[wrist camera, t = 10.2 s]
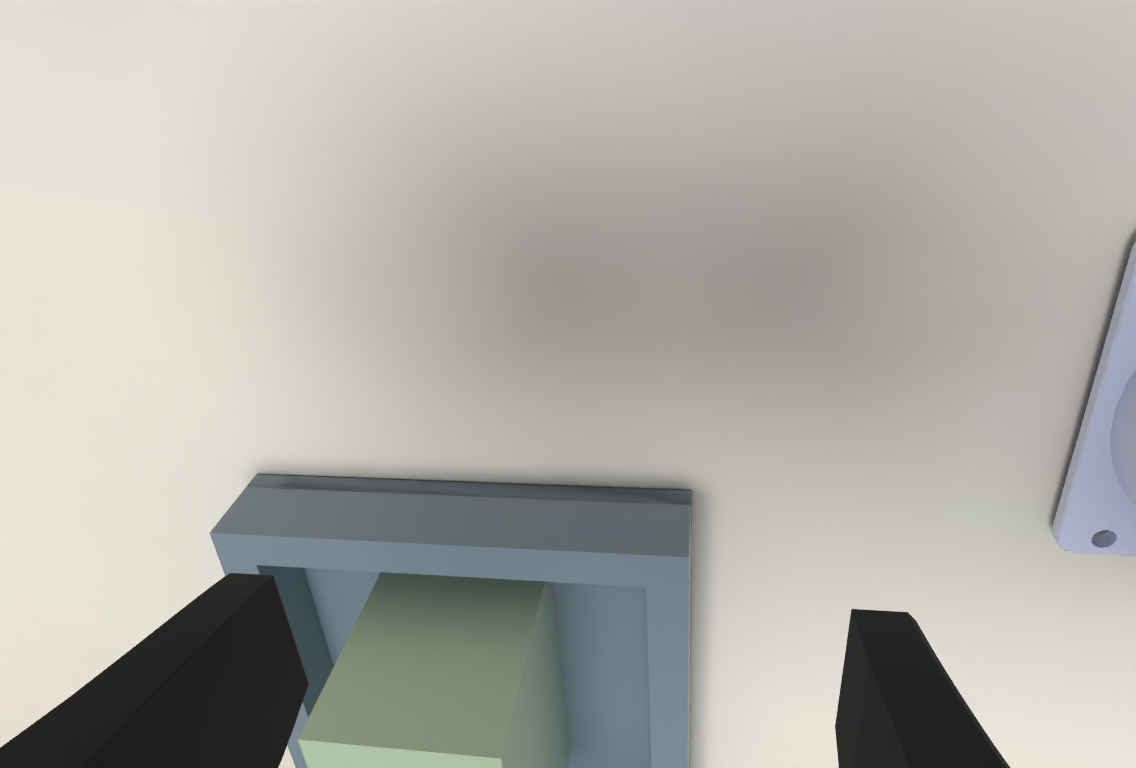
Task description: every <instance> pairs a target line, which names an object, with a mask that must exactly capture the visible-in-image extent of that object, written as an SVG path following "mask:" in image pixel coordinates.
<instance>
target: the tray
mask: <svg viewBox="0 0 1136 768" xmlns="http://www.w3.org/2000/svg"><path fill="white" fill-rule="evenodd" d="M691 506H692V491H690V490H663V489H636V488H610V487H583V486H556V485H529V484H503V483H476V482H449V481H422V480H395V479H369V478H342V477H315V476H288V475H261V474H256V476H255V477H254V478H253V479H252V481H251V482H250V483H249V484H248V486H247V487H246V488H245V489H244V491H243V492H242V493H241V494H240V496H239V497H238V498H237V499H236V501H235V502H234V503H233V504H232V506H231V507H230V508H229V509H228V511H227V512H226V513H225V515H224V516H223V517H222V518H221V520H220V521H219V522H218V523H217V525H216V526H215V527H214V528H213V530H212V531H211V532H210V535H211V538H212V541H213V543H214V546H215V549H216V551H217V554H218V557H219V560H220V562H221V565H222V568H223V571H224V573H225V576H227V575H228V574H229V573H242V574H259V575H273V577H274V580H275V583H276V586H277V589H278V592H279V595H280V598H281V601H282V604H283V607H284V610H285V613H286V616H287V619H288V622H289V625H290V628H291V631H292V634H293V637H294V640H295V643H296V646H297V650H298V653H299V656H300V659H301V662H302V665H303V668H304V671H305V674H306V677H307V680H308V683H309V685H308V688H307V691H306V693H305V696H304V699H303V702H302V705H301V708H300V711H299V714H298V717H297V720H296V723H295V726H294V728H293V731H292V734H291V736H290V739H289V741H288V744H287V745H288V748H289V750H290V753H291V756H292V758H293V761H294V764H295V767H296V768H308V767H307V764H306V761H305V758H304V756H303V753H302V750H301V747H300V744H299V742H298V738H299V736H300V734H301V732H302V730H303V728H304V726H305V724H306V722H307V720H308V718H309V716H310V714H311V712H312V710H313V708H314V706H315V704H316V702H317V700H318V698H319V696H320V694H321V692H322V690H323V688H324V686H325V684H326V682H327V680H328V678H329V676H330V674H331V672H332V670H333V668H334V666H335V663H336V661H337V659H338V657H339V655H340V653H341V651H342V649H343V647H344V645H345V643H346V641H347V639H348V637H349V635H350V633H351V631H352V629H353V627H354V625H355V623H356V621H357V619H358V617H359V615H360V613H361V611H362V609H363V607H364V605H365V603H366V601H367V599H368V597H369V595H370V593H371V591H372V589H373V587H374V585H375V583H376V581H377V579H378V577H379V575H380V573H381V572H387V573H405V574H422V575H440V576H457V577H475V578H493V579H510V580H528V581H545V582H553V590H554V599H555V609H556V618H557V628H558V637H559V647H560V657H561V666H562V676H563V685H564V695H565V704H566V714H567V723H568V733H569V742H570V758H569V764H568V768H690V659H691Z"/></svg>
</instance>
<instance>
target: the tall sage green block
mask: <svg viewBox="0 0 1136 768" xmlns="http://www.w3.org/2000/svg"><path fill="white" fill-rule="evenodd" d="M298 742H299V744H300V747H301V750H302V753H303V756H304V758H305V761H306V764H307V767H308V768H568V764H569V758H570V742H569V733H568V723H567V714H566V704H565V695H564V685H563V676H562V666H561V657H560V647H559V637H558V628H557V618H556V609H555V599H554V590H553V582H545V581H528V580H510V579H493V578H475V577H457V576H440V575H422V574H405V573H387V572H381V573H380V575H379V577H378V579H377V581H376V583H375V585H374V587H373V589H372V591H371V593H370V595H369V597H368V599H367V601H366V603H365V605H364V607H363V609H362V611H361V613H360V615H359V617H358V619H357V621H356V623H355V625H354V627H353V629H352V631H351V633H350V635H349V637H348V639H347V641H346V643H345V645H344V647H343V649H342V651H341V653H340V655H339V657H338V659H337V661H336V663H335V666H334V668H333V670H332V672H331V674H330V676H329V678H328V680H327V682H326V684H325V686H324V688H323V690H322V692H321V694H320V696H319V698H318V700H317V702H316V704H315V706H314V708H313V710H312V712H311V714H310V716H309V718H308V720H307V722H306V724H305V726H304V728H303V730H302V732H301V734H300V736H299V738H298Z"/></svg>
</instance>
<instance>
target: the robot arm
mask: <svg viewBox="0 0 1136 768" xmlns="http://www.w3.org/2000/svg"><path fill="white" fill-rule="evenodd" d="M1103 530H1108V532H1107V533H1105V534H1103V535H1101V536H1096V537H1094V534H1096V533H1097V532H1099V531H1103ZM1052 534H1053V536H1054V538H1055V540H1056V542H1057V543H1058V545H1059V547H1060V548H1062V549H1063V550H1065V551H1068V552H1073V553H1088V554H1110V555H1131V556H1136V241H1135V243H1134V245H1133V247H1132V249H1131V253H1130V256H1129V260H1128V263H1127V267H1126V270H1125V274H1124V277H1123V281H1122V284H1121V288H1120V291H1119V295H1118V298H1117V302H1116V305H1115V309H1114V312H1113V316H1112V319H1111V323H1110V326H1109V330H1108V334H1107V337H1106V341H1105V344H1104V348H1103V351H1102V355H1101V358H1100V362H1099V365H1098V369H1097V372H1096V376H1095V379H1094V383H1093V386H1092V390H1091V393H1090V397H1089V400H1088V404H1087V407H1086V411H1085V414H1084V418H1083V421H1082V425H1081V428H1080V432H1079V435H1078V439H1077V442H1076V446H1075V449H1074V453H1073V456H1072V460H1071V463H1070V467H1069V470H1068V474H1067V477H1066V481H1065V484H1064V488H1063V491H1062V495H1061V498H1060V502H1059V505H1058V509H1057V512H1056V516H1055V519H1054V523H1053V526H1052ZM308 685H309V683H308V680H307V677H306V674H305V671H304V668H303V665H302V662H301V659H300V656H299V653H298V650H297V646H296V643H295V640H294V637H293V634H292V631H291V628H290V625H289V622H288V619H287V616H286V613H285V610H284V607H283V604H282V601H281V598H280V595H279V592H278V589H277V586H276V583H275V580H274V577H273V575H259V574H242V573H229V574H228V575H227V576H225V577H224V578H222V579H221V580H220V581H218V582H217V583H216V584H214V585H213V586H211V587H210V588H209V589H208V590H206V591H205V592H204V593H202V594H201V595H200V596H198V597H197V598H196V599H195V600H193V601H192V602H191V603H189V604H188V605H187V606H186V607H184V608H183V609H182V610H180V611H179V612H178V613H177V614H175V615H174V616H173V617H172V618H170V619H169V620H168V621H167V622H165V623H164V624H163V625H161V626H160V627H159V628H158V629H156V630H155V631H154V632H153V633H151V634H150V635H149V636H148V637H146V638H145V639H144V640H143V641H141V642H140V643H139V644H137V645H136V646H135V647H134V648H132V649H131V650H130V651H129V652H127V653H126V654H125V655H123V656H122V657H121V658H120V659H118V660H117V661H116V662H114V663H113V664H112V665H111V666H109V667H108V668H107V669H105V670H104V671H103V672H102V673H100V674H99V675H98V676H96V677H95V678H94V679H93V680H91V681H90V682H89V683H87V684H86V685H85V686H84V687H82V688H81V689H80V690H78V691H77V692H76V693H75V694H73V695H72V696H71V697H69V698H68V699H67V700H65V701H64V702H62V703H61V704H60V705H58V706H57V707H56V708H54V709H53V710H51V711H50V712H49V713H47V714H46V715H45V716H43V717H42V718H41V719H39V720H38V721H36V722H35V723H34V724H32V725H31V726H30V727H28V728H27V729H25V730H24V731H23V732H21V733H20V734H19V735H17V736H16V737H14V738H13V739H12V740H10V741H9V742H8V743H6V744H5V745H3V746H2V747H1V748H0V768H278V766H279V764H280V762H281V760H282V757H283V755H284V752H285V749H286V747H287V744H288V741H289V739H290V736H291V734H292V731H293V728H294V726H295V723H296V720H297V717H298V714H299V711H300V708H301V705H302V702H303V699H304V696H305V693H306V691H307V688H308ZM835 729H836V740H837V751H838V762H839V768H1010V767H1009V765H1008V764H1007V763H1006V761H1005V760H1004V758H1003V757H1002V756H1001V754H1000V753H999V751H998V750H997V748H996V747H995V746H994V744H993V743H992V741H991V740H990V738H989V737H988V735H987V734H986V732H985V731H984V729H983V728H982V726H981V725H980V723H979V722H978V720H977V719H976V717H975V716H974V714H973V713H972V711H971V710H970V708H969V707H968V705H967V704H966V702H965V701H964V699H963V697H962V696H961V694H960V693H959V691H958V690H957V688H956V687H955V685H954V683H953V682H952V680H951V679H950V677H949V675H948V674H947V672H946V671H945V669H944V667H943V666H942V664H941V663H940V661H939V659H938V658H937V656H936V654H935V653H934V651H933V649H932V648H931V646H930V644H929V642H928V641H927V639H926V637H925V636H924V634H923V632H922V630H921V629H920V627H919V625H918V623H917V622H916V620H915V619H914V618H913V617H912V616H911V615H910V614H909V613H908V612H892V611H875V610H858V609H852V610H851V617H850V624H849V632H848V639H847V646H846V653H845V660H844V667H843V675H842V682H841V689H840V696H839V703H838V711H837V718H836V725H835Z"/></svg>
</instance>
